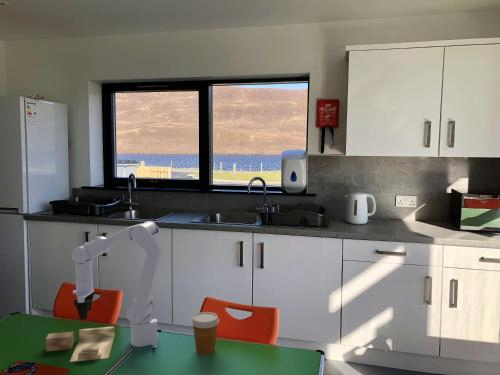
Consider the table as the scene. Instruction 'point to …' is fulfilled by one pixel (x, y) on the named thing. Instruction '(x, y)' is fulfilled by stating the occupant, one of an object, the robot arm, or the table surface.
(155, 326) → the robot arm
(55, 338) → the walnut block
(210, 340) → the disposable coffee cup
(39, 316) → the table surface
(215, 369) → the table surface
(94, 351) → the offcut stack
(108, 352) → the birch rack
